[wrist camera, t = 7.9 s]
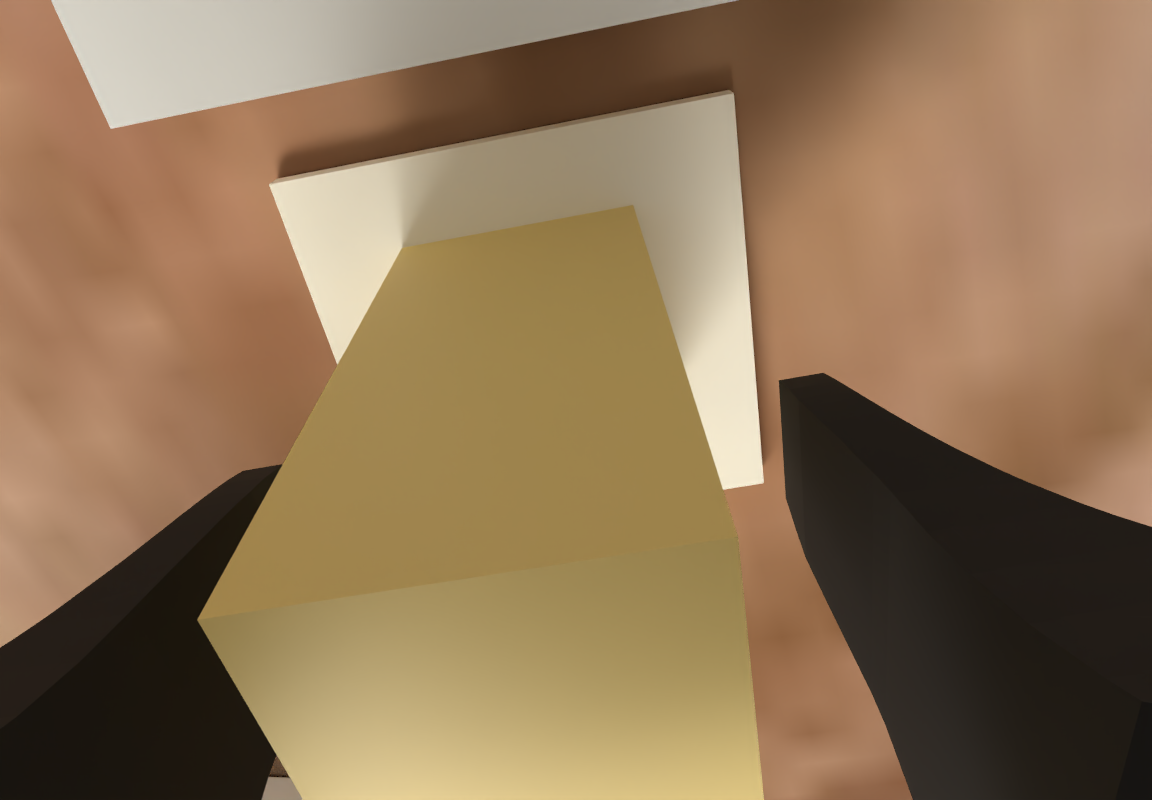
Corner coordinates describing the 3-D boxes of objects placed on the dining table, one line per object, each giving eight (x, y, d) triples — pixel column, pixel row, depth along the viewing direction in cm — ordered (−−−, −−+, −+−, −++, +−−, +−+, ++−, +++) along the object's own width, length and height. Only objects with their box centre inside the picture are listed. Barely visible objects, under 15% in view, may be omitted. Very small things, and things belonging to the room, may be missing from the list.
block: (632, 204, 13) (737, 536, 6) (662, 408, 16) (769, 857, 8) (401, 247, 14) (196, 620, 6) (460, 441, 16) (365, 908, 8)
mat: (729, 89, 13) (734, 93, 13) (759, 472, 17) (763, 483, 17) (276, 178, 14) (269, 184, 13) (406, 529, 17) (403, 540, 17)
